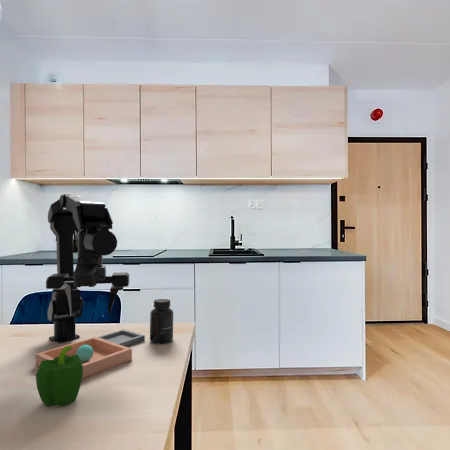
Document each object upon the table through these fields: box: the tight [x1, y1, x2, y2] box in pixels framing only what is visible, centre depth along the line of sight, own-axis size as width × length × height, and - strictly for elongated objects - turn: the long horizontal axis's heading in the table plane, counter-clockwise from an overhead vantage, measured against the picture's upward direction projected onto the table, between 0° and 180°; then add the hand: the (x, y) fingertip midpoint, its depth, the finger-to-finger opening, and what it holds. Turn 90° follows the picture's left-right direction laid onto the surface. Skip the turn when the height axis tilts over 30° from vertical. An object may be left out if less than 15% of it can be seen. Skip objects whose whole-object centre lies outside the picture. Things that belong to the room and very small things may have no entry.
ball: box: [76, 345, 93, 362], centre depth 84 cm, size 4×4×4 cm
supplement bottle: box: [149, 298, 174, 345], centre depth 101 cm, size 7×7×12 cm
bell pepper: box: [35, 346, 83, 407], centre depth 66 cm, size 8×8×10 cm
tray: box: [96, 329, 146, 348], centre depth 100 cm, size 10×10×2 cm
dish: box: [35, 336, 133, 381], centre depth 84 cm, size 16×16×3 cm
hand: (89, 314), depth 85 cm, fingers open, 9 cm apart
